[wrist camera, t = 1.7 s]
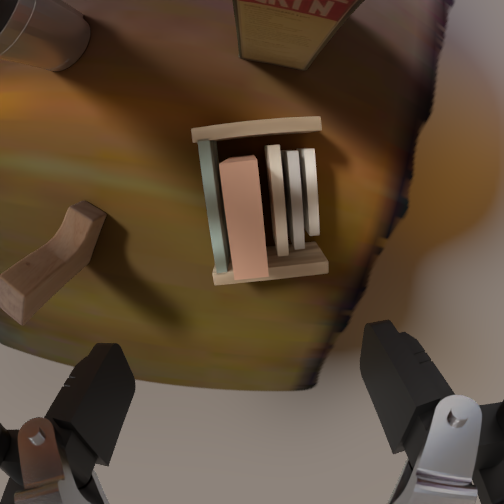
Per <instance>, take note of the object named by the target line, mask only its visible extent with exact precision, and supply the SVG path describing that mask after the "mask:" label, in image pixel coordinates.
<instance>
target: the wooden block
mask: <svg viewBox="0 0 504 504" xmlns="http://www.w3.org/2000/svg"><path fill="white" fill-rule="evenodd" d="M105 218H106V213H105V212H103V211H101V210H100V209H98V208H96V207H95V206H93V205H92V204H90V203H88V202H87V201H81V202H79V203H76V204H74V205H72V206H70V207H69V208H68V210H67V213H66V215H65V218H64V220H63V223H62V225H61V227H60V228H59V230H58V231H57V233H56V234H55V236H54V237H53V238H52V239H51V240H50V241H49V242H47V243H46V244H45V245H44V246H42V247H40V248H39V249H37V250H36V251H34V252H33V253H31V254H30V255H28V256H26V257H25V258H23V259H22V260H20V261H19V262H17V263H16V264H15V265H13V266H12V267H10V268H9V269H7V270H6V271H4V272H3V273H2V274H0V308H1V309H2V310H4V311H5V312H6V313H7V314H8V315H9V316H11V317H12V318H13V319H14V320H16V321H17V322H18V323H19V324H21V325H24V324H25V323H26V322H27V321H28V320H29V319H30V318H31V317H32V316H33V315H34V314H35V313H36V312H37V311H38V310H39V309H40V308H41V307H42V306H43V305H44V304H45V303H46V302H47V301H48V300H49V299H50V298H51V297H52V296H53V295H54V294H55V293H56V292H57V291H59V290H60V289H61V288H62V287H63V286H64V285H65V284H66V283H67V282H68V281H69V280H70V279H72V278H73V277H74V276H75V275H76V274H77V273H78V272H79V271H81V270H82V269H83V268H84V267H85V266H86V265H87V264H88V263H89V262H90V259H91V256H92V253H93V250H94V247H95V245H96V242H97V239H98V236H99V233H100V231H101V228H102V226H103V223H104V220H105Z"/></svg>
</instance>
